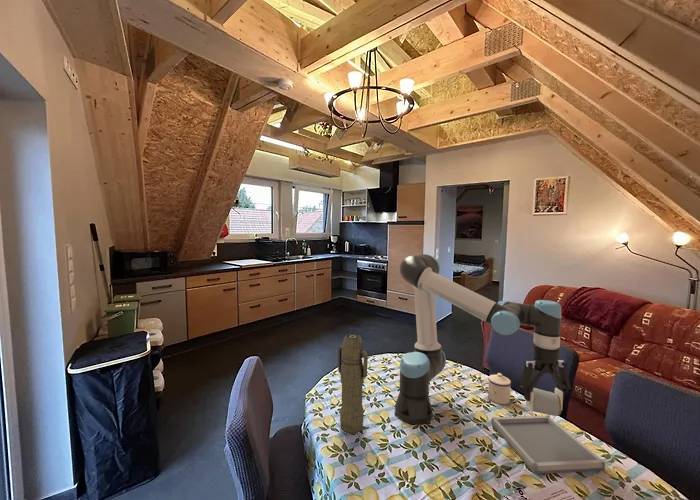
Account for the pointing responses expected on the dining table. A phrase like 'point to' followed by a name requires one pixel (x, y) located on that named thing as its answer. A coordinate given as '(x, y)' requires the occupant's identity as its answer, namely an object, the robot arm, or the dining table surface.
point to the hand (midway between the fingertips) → (543, 408)
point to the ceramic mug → (546, 402)
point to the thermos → (352, 383)
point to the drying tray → (546, 445)
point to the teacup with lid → (498, 389)
